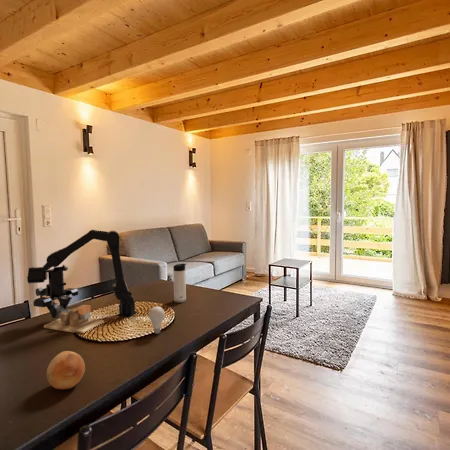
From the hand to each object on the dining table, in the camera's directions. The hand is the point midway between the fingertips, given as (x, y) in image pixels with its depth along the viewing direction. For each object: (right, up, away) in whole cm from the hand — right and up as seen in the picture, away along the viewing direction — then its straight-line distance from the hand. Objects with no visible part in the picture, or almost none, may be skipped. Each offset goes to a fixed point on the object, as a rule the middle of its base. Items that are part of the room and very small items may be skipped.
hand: (58, 316), depth 135 cm
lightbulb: (+46, -4, -12) cm, 48 cm away
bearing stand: (+9, -3, -3) cm, 10 cm away
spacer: (+14, +3, -5) cm, 15 cm away
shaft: (+7, 0, -2) cm, 8 cm away
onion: (+28, -6, -47) cm, 55 cm away
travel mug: (+50, -1, +29) cm, 57 cm away
